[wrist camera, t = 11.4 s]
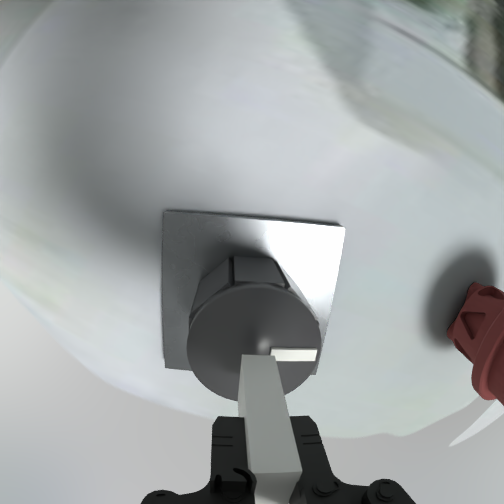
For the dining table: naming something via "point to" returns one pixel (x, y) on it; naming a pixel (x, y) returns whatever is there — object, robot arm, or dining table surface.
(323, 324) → the metal plate
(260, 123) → the dining table surface
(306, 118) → the dining table surface
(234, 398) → the knob
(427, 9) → the dining table surface
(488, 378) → the mechanical component
